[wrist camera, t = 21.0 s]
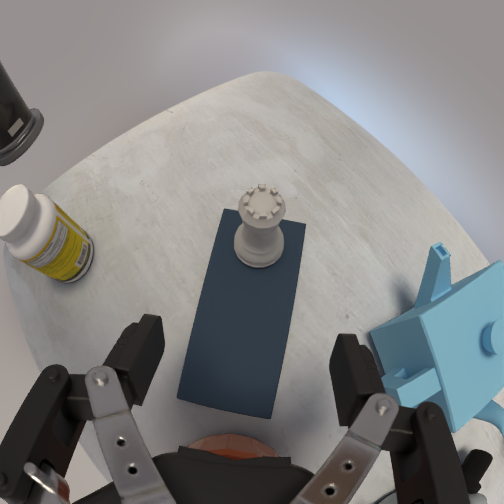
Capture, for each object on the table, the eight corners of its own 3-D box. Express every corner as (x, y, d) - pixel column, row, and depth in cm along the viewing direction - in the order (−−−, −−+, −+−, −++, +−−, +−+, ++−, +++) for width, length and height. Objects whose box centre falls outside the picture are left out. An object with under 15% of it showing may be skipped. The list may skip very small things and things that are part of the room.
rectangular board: (269, 417, 21) (270, 419, 21) (178, 397, 22) (176, 398, 21) (304, 227, 28) (306, 223, 27) (224, 212, 28) (223, 208, 28)
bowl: (168, 505, 18) (154, 528, 13) (185, 420, 21) (170, 433, 17) (273, 525, 17) (278, 552, 12) (298, 442, 21) (310, 460, 16)
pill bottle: (48, 243, 27) (-11, 196, 17) (90, 222, 28) (36, 163, 18) (55, 293, 25) (-16, 256, 15) (99, 272, 26) (34, 224, 16)
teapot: (440, 251, 27) (503, 203, 17) (487, 389, 21) (559, 384, 11) (320, 306, 25) (369, 267, 14) (380, 469, 19) (445, 511, 8)
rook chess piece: (252, 279, 25) (253, 243, 18) (224, 239, 26) (215, 192, 19) (293, 252, 26) (310, 208, 19) (264, 215, 27) (270, 163, 20)
